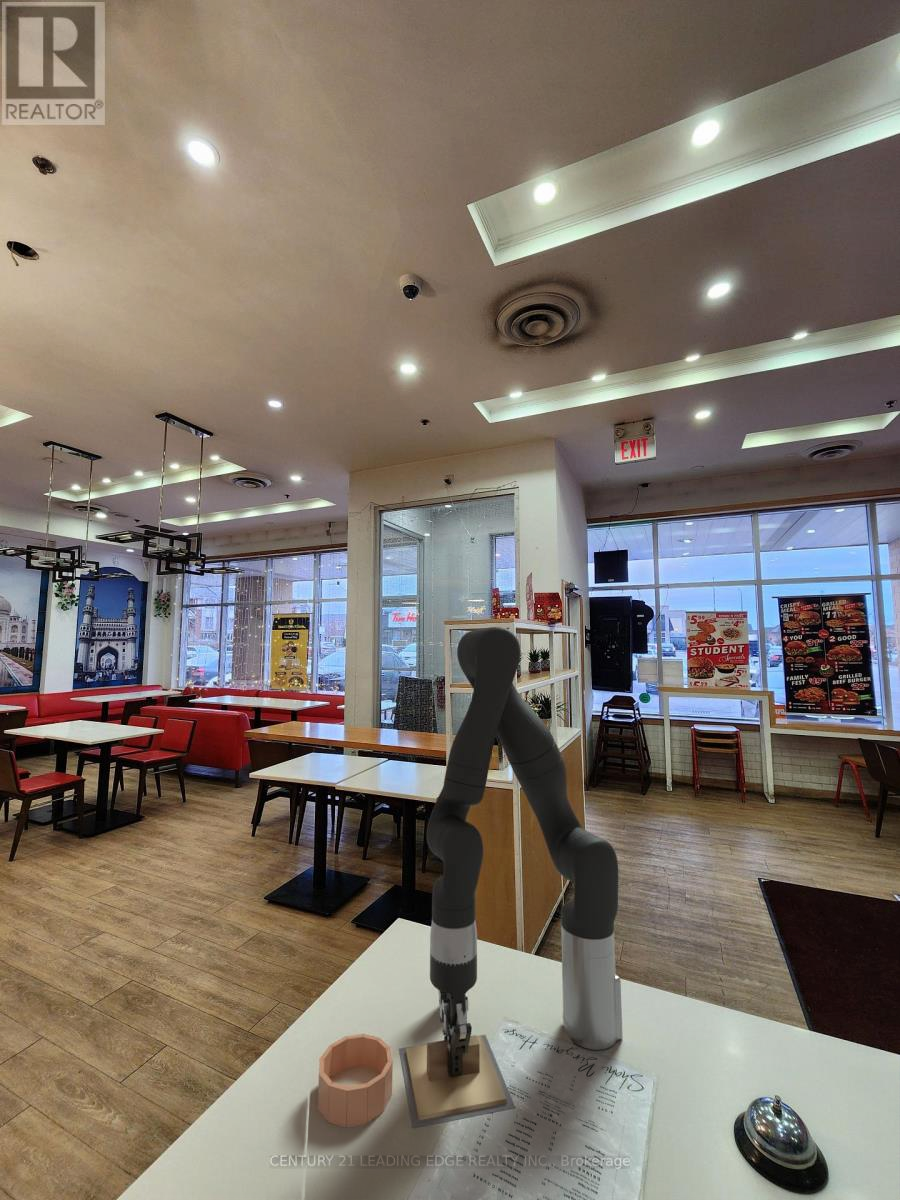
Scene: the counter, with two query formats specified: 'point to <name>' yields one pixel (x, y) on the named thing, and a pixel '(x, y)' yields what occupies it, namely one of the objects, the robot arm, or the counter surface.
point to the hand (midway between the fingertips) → (453, 1067)
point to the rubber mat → (456, 1116)
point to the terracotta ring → (355, 1080)
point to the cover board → (452, 1080)
